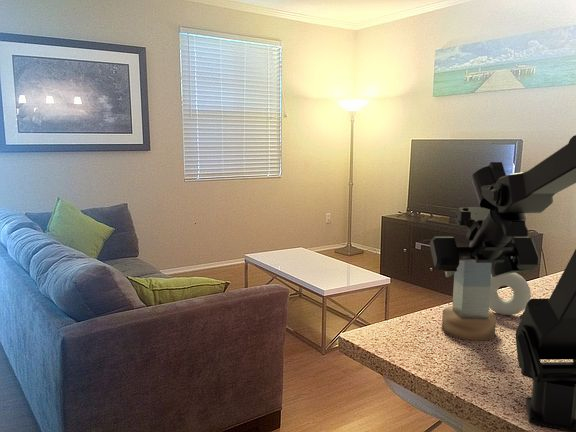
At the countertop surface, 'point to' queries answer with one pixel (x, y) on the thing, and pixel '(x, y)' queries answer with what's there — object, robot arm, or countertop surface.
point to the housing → (472, 289)
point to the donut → (519, 297)
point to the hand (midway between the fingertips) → (469, 274)
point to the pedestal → (468, 326)
